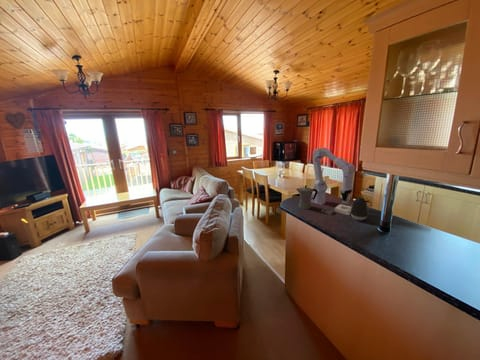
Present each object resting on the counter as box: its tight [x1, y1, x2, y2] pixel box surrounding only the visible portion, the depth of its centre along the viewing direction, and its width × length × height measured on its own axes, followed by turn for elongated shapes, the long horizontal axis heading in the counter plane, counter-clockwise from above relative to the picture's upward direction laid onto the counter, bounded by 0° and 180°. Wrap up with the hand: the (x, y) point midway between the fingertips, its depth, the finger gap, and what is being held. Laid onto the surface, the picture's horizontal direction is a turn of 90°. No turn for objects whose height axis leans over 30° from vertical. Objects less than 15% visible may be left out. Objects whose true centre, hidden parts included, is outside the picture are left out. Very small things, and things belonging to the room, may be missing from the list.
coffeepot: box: [295, 185, 318, 210], centre depth 154 cm, size 15×9×18 cm, turn 70°
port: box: [334, 203, 352, 216], centre depth 146 cm, size 10×10×3 cm
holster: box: [320, 206, 336, 216], centre depth 146 cm, size 8×6×2 cm
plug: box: [341, 193, 351, 205], centre depth 143 cm, size 4×4×8 cm
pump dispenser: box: [350, 196, 370, 221], centre depth 133 cm, size 10×10×15 cm
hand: (345, 199), depth 144 cm, fingers closed on plug, 3 cm apart
